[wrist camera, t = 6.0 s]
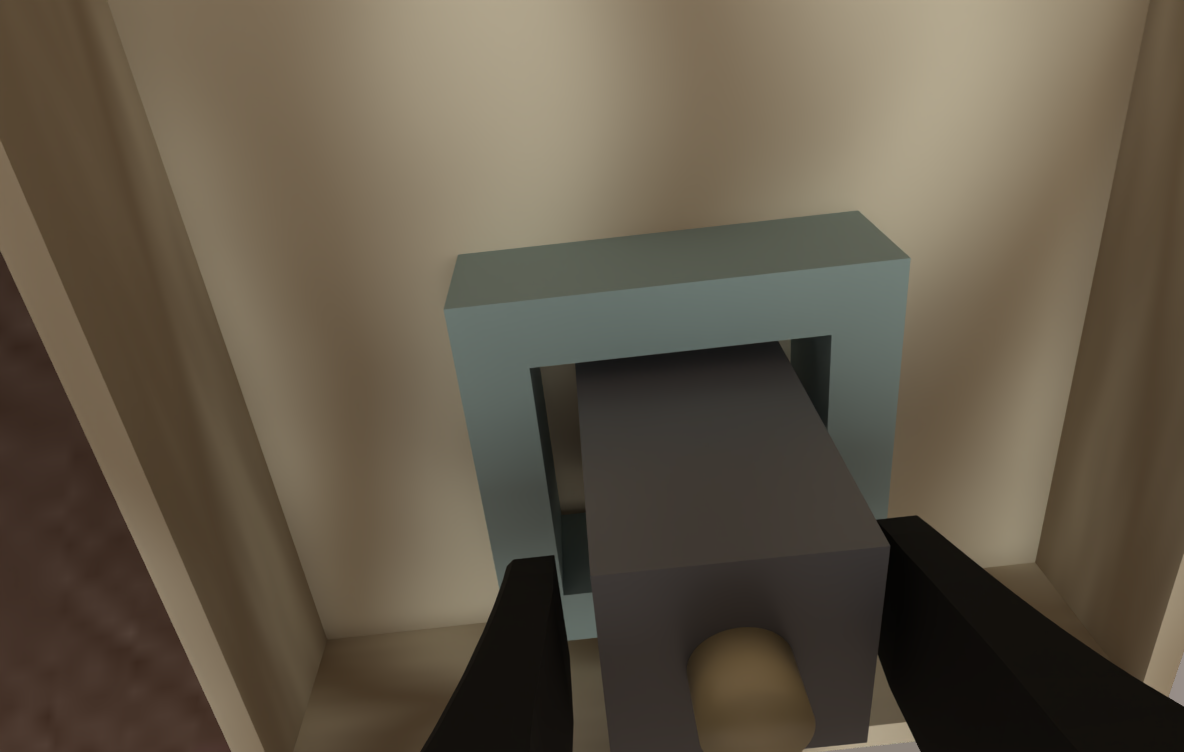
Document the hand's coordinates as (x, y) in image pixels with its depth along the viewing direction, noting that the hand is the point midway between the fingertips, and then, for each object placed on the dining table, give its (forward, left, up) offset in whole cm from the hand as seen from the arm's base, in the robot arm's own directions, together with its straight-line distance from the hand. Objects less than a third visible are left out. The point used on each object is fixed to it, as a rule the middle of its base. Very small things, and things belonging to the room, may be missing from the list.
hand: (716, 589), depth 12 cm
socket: (0, 0, -6) cm, 6 cm away
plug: (0, 0, -5) cm, 5 cm away
